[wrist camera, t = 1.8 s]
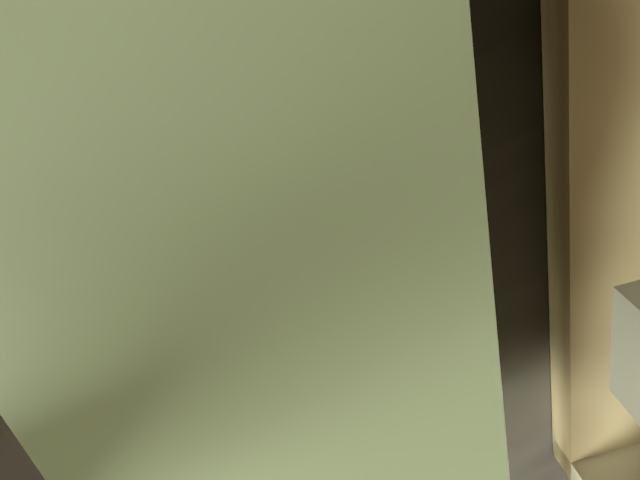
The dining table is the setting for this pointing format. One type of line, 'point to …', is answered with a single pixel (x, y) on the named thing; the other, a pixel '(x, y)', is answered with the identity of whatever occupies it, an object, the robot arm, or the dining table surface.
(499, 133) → the dining table surface
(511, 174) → the dining table surface
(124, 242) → the shelf board
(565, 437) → the shelf stand
